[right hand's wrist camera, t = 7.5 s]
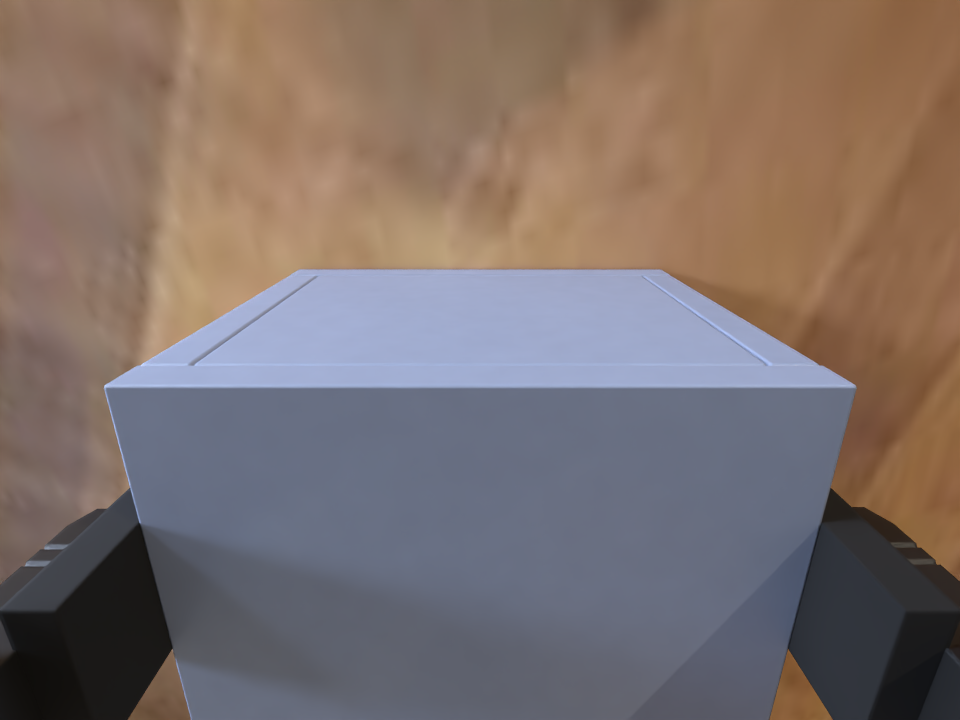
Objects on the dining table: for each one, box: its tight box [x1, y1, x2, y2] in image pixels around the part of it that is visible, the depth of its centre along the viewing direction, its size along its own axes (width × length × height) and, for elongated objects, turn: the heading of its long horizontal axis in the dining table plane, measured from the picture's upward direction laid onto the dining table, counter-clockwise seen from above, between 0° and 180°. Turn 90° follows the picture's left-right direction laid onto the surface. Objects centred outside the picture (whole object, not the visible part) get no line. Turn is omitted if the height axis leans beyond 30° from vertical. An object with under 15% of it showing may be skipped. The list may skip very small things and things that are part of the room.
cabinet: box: [104, 270, 857, 720], centre depth 15 cm, size 19×11×9 cm, turn 0°
